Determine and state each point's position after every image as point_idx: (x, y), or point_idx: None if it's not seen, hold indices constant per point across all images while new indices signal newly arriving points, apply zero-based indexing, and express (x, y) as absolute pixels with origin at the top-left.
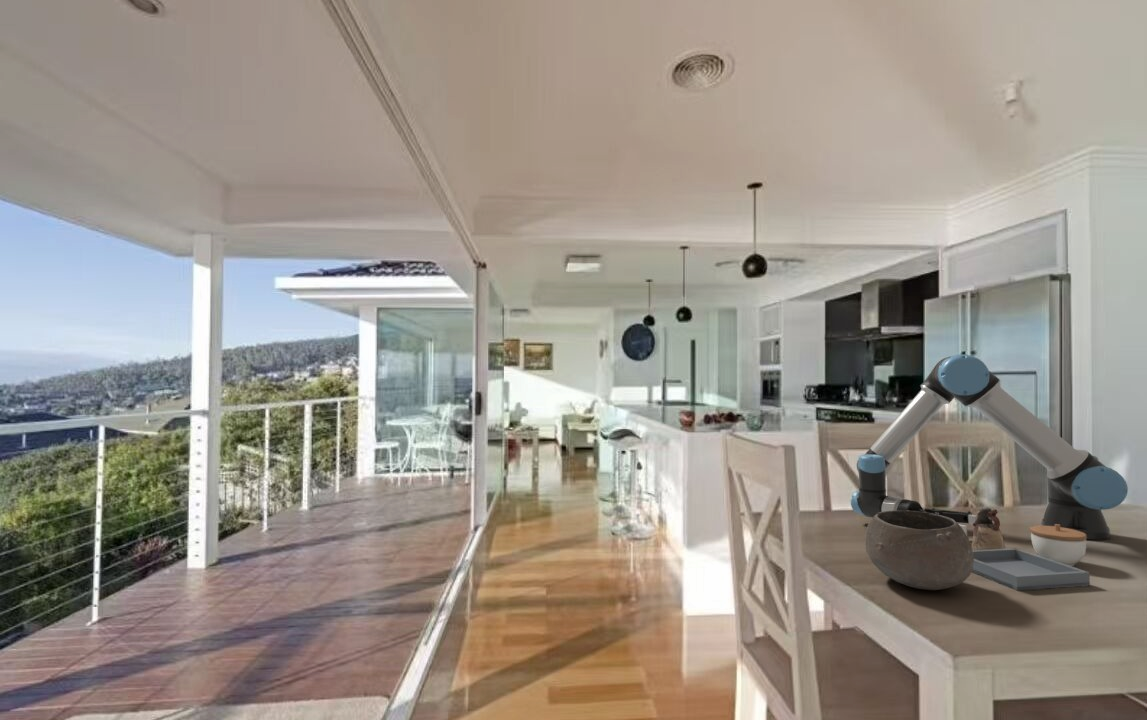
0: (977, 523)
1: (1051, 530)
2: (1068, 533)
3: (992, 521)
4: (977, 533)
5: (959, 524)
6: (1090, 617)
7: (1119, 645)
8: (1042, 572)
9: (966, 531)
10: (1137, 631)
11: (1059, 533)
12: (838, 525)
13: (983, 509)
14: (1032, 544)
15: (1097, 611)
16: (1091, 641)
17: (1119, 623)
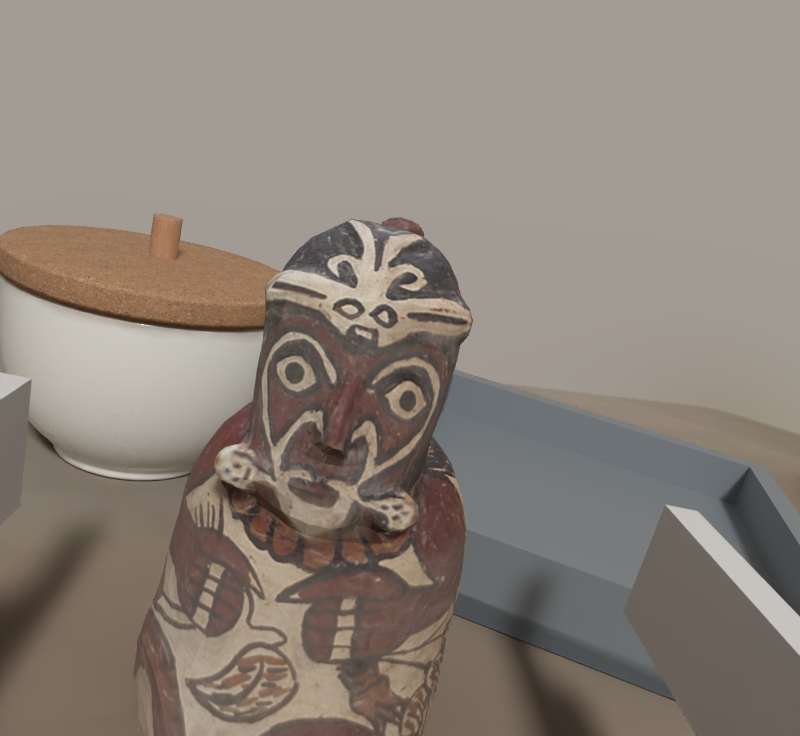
0: (420, 464)
1: (196, 266)
2: (206, 253)
3: (21, 411)
4: (464, 554)
5: (711, 552)
6: (682, 431)
7: (746, 419)
8: (479, 464)
9: (655, 563)
10: (645, 400)
11: (247, 267)
12: None
13: (443, 257)
14: (173, 416)
15: (626, 421)
16: (791, 438)
17: (643, 409)
